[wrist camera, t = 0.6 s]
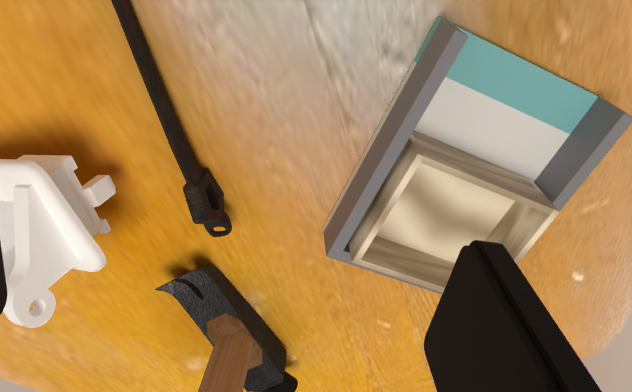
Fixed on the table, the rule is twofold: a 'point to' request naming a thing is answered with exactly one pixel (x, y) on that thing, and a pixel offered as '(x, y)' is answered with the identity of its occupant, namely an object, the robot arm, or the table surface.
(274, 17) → the table surface
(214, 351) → the hammer
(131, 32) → the wrench
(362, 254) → the crate
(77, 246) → the white plastic bracket
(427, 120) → the bay
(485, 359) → the robot arm
